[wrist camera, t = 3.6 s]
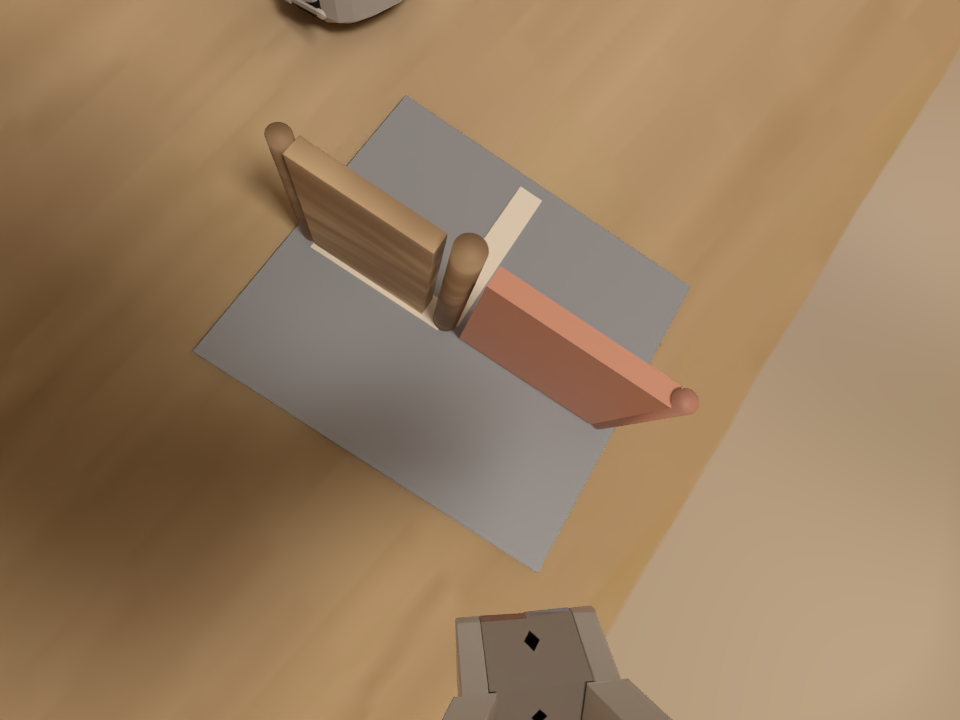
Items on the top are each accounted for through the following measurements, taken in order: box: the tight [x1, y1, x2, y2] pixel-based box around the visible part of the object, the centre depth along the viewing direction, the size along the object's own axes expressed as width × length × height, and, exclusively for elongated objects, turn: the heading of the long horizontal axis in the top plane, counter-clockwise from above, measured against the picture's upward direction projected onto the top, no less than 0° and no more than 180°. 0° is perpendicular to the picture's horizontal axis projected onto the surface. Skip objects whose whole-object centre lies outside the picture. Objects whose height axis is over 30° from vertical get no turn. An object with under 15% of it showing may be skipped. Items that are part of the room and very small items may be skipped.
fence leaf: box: [460, 266, 699, 429], centre depth 27 cm, size 1×11×10 cm, turn 58°
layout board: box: [193, 96, 691, 573], centre depth 32 cm, size 22×24×1 cm
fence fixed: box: [264, 122, 489, 332], centre depth 27 cm, size 2×11×11 cm, turn 58°
